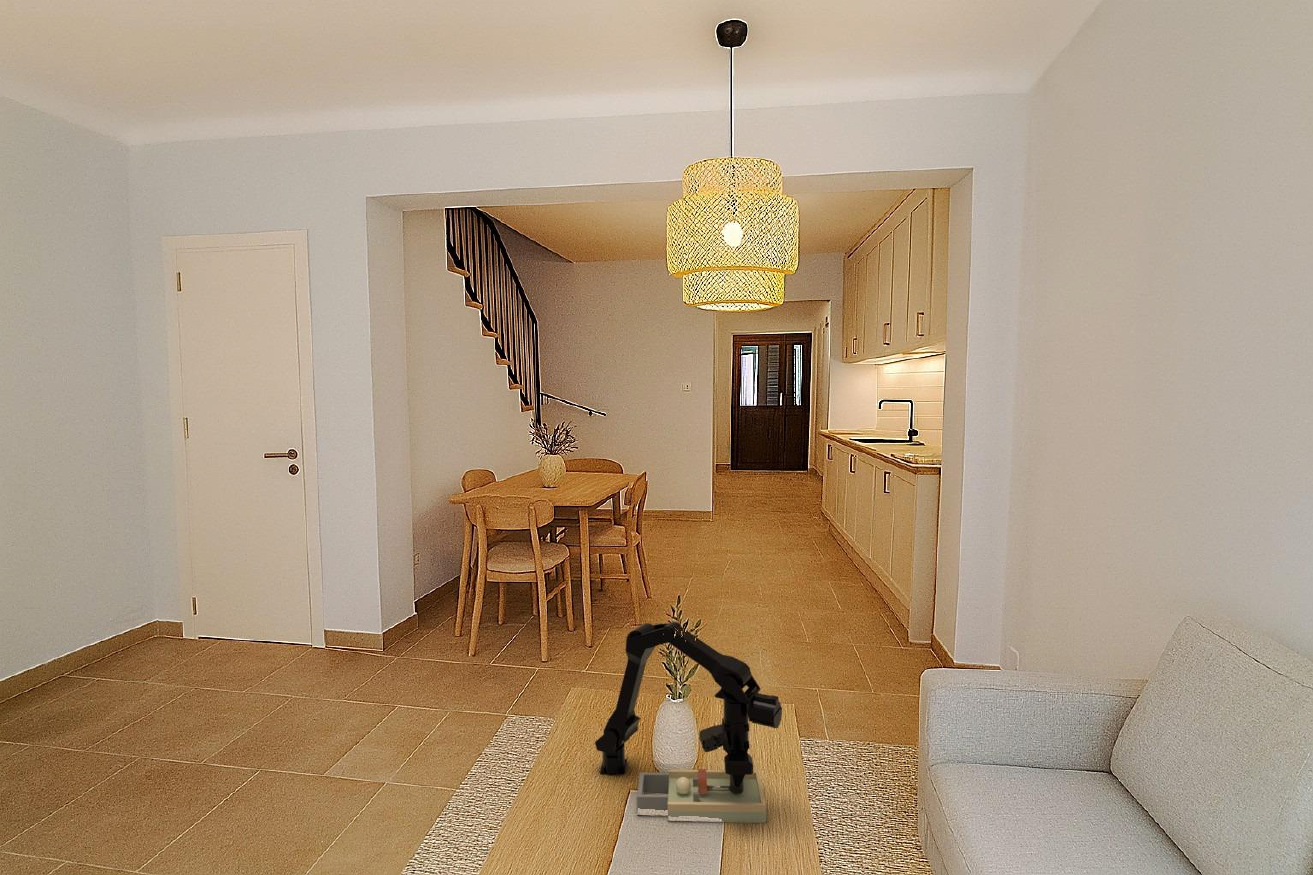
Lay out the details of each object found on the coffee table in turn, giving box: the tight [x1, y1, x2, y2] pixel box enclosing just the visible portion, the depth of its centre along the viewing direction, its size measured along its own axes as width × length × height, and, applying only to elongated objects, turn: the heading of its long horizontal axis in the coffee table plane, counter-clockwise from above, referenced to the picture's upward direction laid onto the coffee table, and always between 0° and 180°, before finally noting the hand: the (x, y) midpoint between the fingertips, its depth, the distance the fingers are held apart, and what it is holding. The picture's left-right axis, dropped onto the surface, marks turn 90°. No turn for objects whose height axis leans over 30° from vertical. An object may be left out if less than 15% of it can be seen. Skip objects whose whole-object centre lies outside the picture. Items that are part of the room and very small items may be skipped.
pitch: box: [667, 769, 767, 824], centre depth 161 cm, size 14×22×4 cm, turn 88°
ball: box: [676, 777, 691, 794], centre depth 161 cm, size 4×4×4 cm
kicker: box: [697, 768, 744, 794], centre depth 160 cm, size 4×11×7 cm, turn 88°
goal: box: [636, 771, 669, 811], centre depth 161 cm, size 10×7×4 cm
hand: (736, 782), depth 160 cm, fingers closed on kicker, 3 cm apart
